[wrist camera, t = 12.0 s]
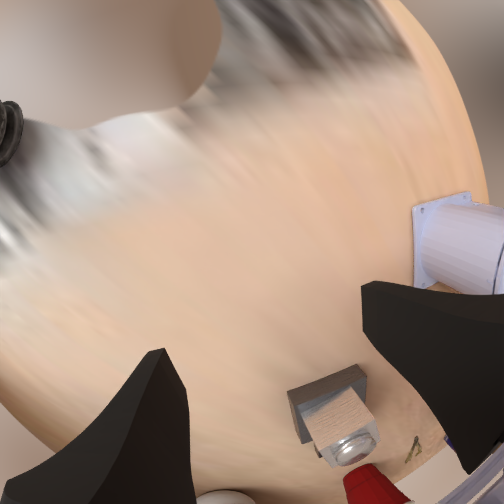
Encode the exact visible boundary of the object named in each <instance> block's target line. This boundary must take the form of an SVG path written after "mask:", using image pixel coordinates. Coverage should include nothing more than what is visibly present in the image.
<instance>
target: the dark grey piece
mask: <svg viewBox="0 0 504 504" xmlns="http://www.w3.org/2000/svg"><path fill="white" fill-rule="evenodd" d="M366 379H367V376H366V375H365V374H364V373H363V371H362V370H361V369H360V368H359V367H358V365H357V364H355V365H353V366H351V367H349V368H346V369H344V370H342V371H339V372H337V373H335V374H332V375H330V376H327V377H325V378H322V379H320V380H317V381H315V382H312V383H309V384H307V385H304V386H301V387H299V388H296V389H293V390H290V391H287V395H288V399H289V403H290V408H291V412H292V416H293V420H294V425H295V429H296V432H297V435H298V437H299V439H300V441H301V444H305V443H307V442H310V441H313V439H312V437H311V435H310V433H309V431H308V429H307V427H306V425H305V422H304V420H303V418H302V416H301V413H303V412H305V411H307V410H308V409H310V408H312V407H314V406H316V405H318V404H320V403H322V402H323V401H325V400H327V399H329V398H330V397H332V396H334V395H336V394H337V393H339V392H341V391H342V390H344V389H346V388H347V387H349V386H351V387H352V389H353V390H354V391H355V393H356V394H357V395H358V397H359V398H360V399H361V401H362V402H363V403H364V405H365V395H366ZM314 447H315V451H316V453H317V455H318V457H319V458H321V457H323V456H322V455H321V453H320V452H319V451H318V449H317V447H316V445H315V443H314Z"/></svg>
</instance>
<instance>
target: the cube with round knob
mask: <svg viewBox="0 0 504 504" xmlns="http://www.w3.org/2000/svg"><path fill="white" fill-rule="evenodd" d="M301 416H302V418H303V420H304V422H305V425H306V427H307V429H308V431H309V433H310V435H311V437H312V439H313V441H314V443H315V445H316V447H317V449H318V451H319V452H320V453H321V455H322V456H323V457H324V458H325V460H326V461H327V462H328V463H329V465H330V466H331V467H332V468H333V467H335V466H337V465H339V466H347V465H351V464H353V463H356V462H358V461H360V460H361V459H363V458H365V457H366V456H367V455H368V454H370V453H371V452H372V451H373V450H374V448H375V447H376V443H378V442H379V441H380V437H379V433H378V429H377V424H376V420H375V418H374V417H373V415H372V414H371V413H370V411H369V410H368V409H367V407H366V406H365V405H364V403H363V402H362V401H361V399H360V398H359V397H358V395H357V394H356V393H355V391H354V390H353V389H352V387H351V386H349V387H347V388H346V389H344V390H342V391H341V392H339V393H337V394H336V395H334V396H332V397H330V398H329V399H327V400H325V401H323V402H322V403H320V404H318V405H316V406H314V407H312V408H310V409H308V410H307V411H305V412H303V413H301Z"/></svg>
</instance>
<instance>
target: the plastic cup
mask: <svg viewBox="0 0 504 504" xmlns="http://www.w3.org/2000/svg"><path fill="white" fill-rule="evenodd" d="M343 482H344V483H343V484H344V487H345V491H346V494H347V495H346V496H347V500H348V504H415V501H413V500H412V501H411V500H410V499H409V498H408V497H406V496H405V495H404V494H403V493H402V492H401V491H399V490H398V489H397V487H396V486H394V484H393V483H392V482H391V481H390V480H389V479H388V478H387V477H386V476H385V475H384V474H382V473H381V472H380V471H379V470H378V469H377V468H376V467H375V466H373V465H372V464H366V465H363V466H361V467H358V468H356V469H355V470H353V471H351V472H350V473H349V474H347V475H346V476H345V477H344V479H343Z"/></svg>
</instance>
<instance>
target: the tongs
mask: <svg viewBox="0 0 504 504" xmlns="http://www.w3.org/2000/svg"><path fill="white" fill-rule="evenodd" d="M415 444H417V447H418V453H417V454H416V456H417V455H418V454H419V453H421V452H422V451H421V447H420V445H419V443H418V437H417V436H416V437H415V440H414V444H413V446H412V448H411V451H410V453H409V455H408V458H407V460H406V463H407V462H408V461H410V459H411V457H412V453H413V450H414V448H415Z"/></svg>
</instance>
